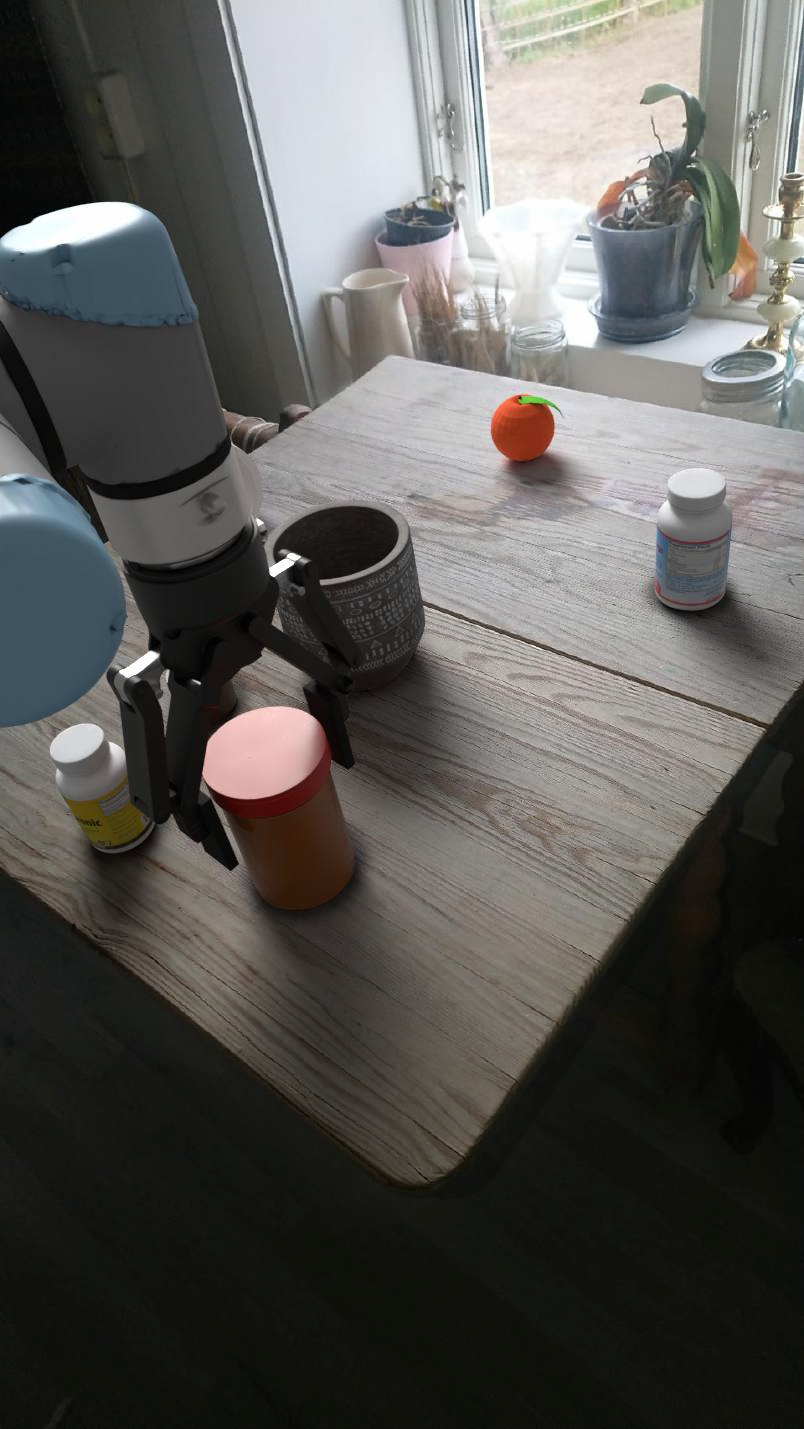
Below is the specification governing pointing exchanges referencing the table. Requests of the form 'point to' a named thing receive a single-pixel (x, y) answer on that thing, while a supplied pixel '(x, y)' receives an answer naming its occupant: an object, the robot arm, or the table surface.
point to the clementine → (523, 427)
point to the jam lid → (266, 761)
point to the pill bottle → (693, 540)
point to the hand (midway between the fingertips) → (282, 806)
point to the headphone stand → (251, 484)
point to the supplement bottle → (98, 788)
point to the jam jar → (298, 851)
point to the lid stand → (226, 700)
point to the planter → (358, 582)
